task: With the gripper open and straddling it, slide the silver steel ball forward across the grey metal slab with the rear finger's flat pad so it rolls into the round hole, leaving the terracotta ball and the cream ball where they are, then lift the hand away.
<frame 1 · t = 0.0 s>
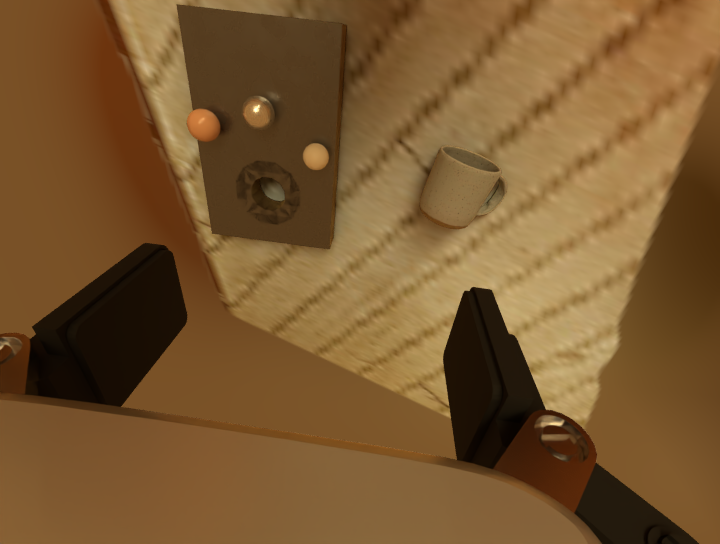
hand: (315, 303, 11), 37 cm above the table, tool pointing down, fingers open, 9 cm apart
cream ball: (315, 156, 40), point 5 cm above the table, touching grey metal slab
grey metal slab: (274, 140, 45), on the table
steel ball: (258, 113, 38), point 5 cm above the table, touching grey metal slab
terracotta ball: (204, 125, 39), point 5 cm above the table, touching grey metal slab
ceramic mug: (462, 179, 45), on the table
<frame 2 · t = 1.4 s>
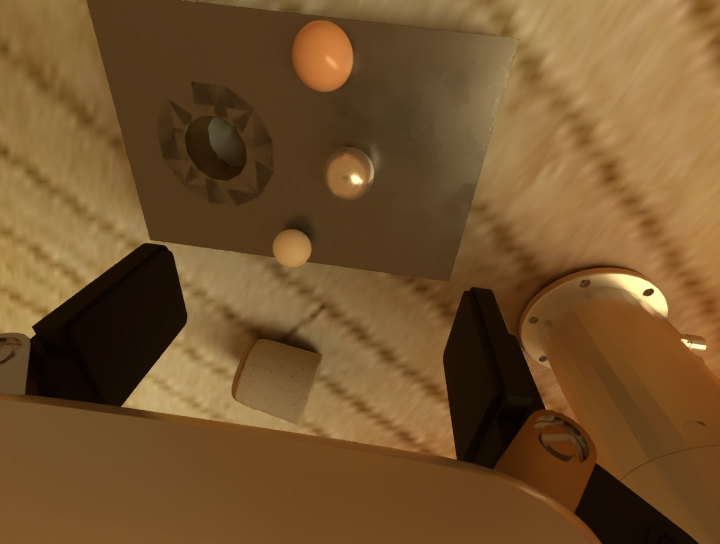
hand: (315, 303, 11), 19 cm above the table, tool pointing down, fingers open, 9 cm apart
cream ball: (292, 248, 27), point 5 cm above the table, touching grey metal slab
grey metal slab: (308, 148, 28), on the table
steel ball: (348, 174, 23), point 5 cm above the table, touching grey metal slab
terracotta ball: (322, 57, 20), point 5 cm above the table, touching grey metal slab
ceramic mug: (288, 360, 42), on the table
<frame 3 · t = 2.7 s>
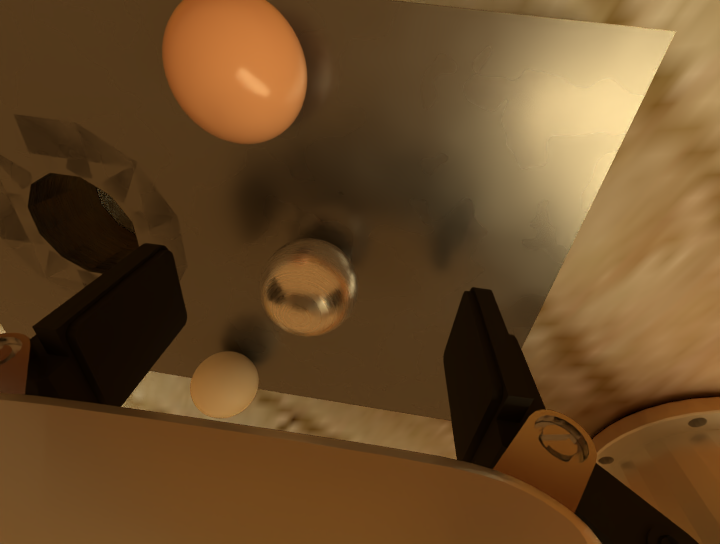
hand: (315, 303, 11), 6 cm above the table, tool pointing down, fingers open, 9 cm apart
cream ball: (225, 383, 16), point 5 cm above the table, touching grey metal slab
grey metal slab: (256, 215, 17), on the table
steel ball: (309, 287, 12), point 5 cm above the table, touching grey metal slab
terracotta ball: (239, 72, 9), point 5 cm above the table, touching grey metal slab
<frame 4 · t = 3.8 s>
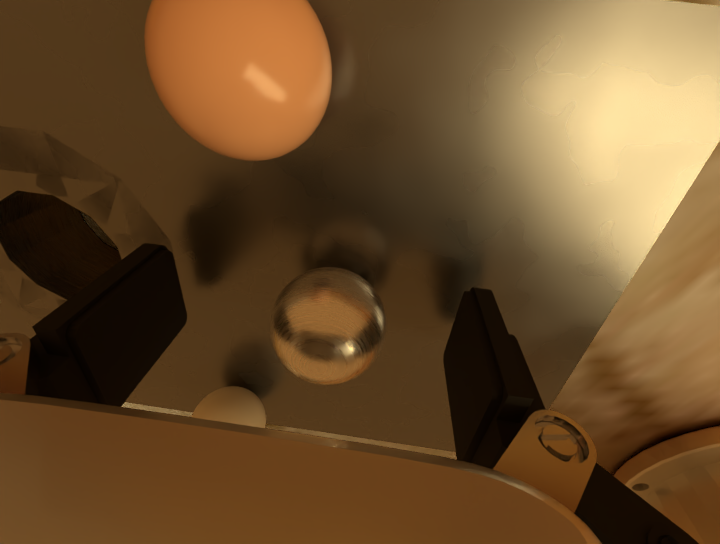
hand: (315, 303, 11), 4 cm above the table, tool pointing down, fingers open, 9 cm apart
cream ball: (228, 423, 14), point 5 cm above the table, touching grey metal slab
grey metal slab: (259, 232, 15), on the table
steel ball: (329, 324, 10), point 5 cm above the table, touching grey metal slab
terracotta ball: (245, 70, 7), point 5 cm above the table, touching grey metal slab
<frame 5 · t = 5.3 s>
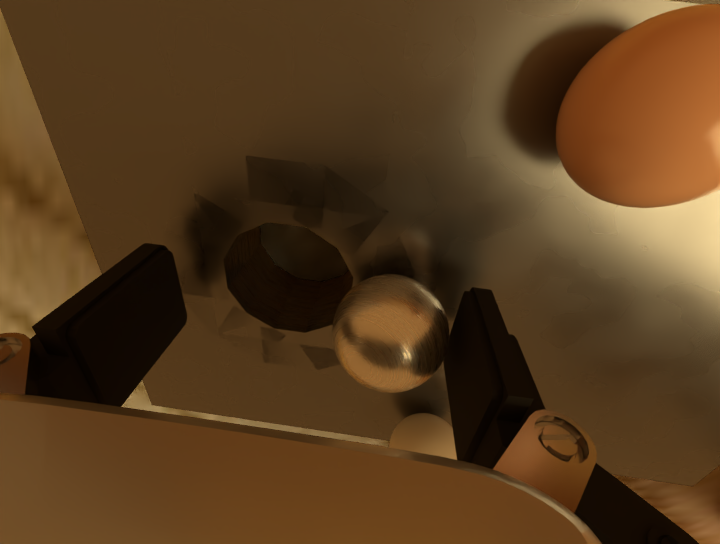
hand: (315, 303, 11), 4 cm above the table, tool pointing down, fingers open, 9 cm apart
cream ball: (425, 452, 14), point 5 cm above the table, touching grey metal slab
grey metal slab: (448, 255, 15), on the table
steel ball: (389, 331, 10), point 5 cm above the table, tilted 153°, touching grey metal slab
terracotta ball: (658, 117, 7), point 5 cm above the table, touching grey metal slab
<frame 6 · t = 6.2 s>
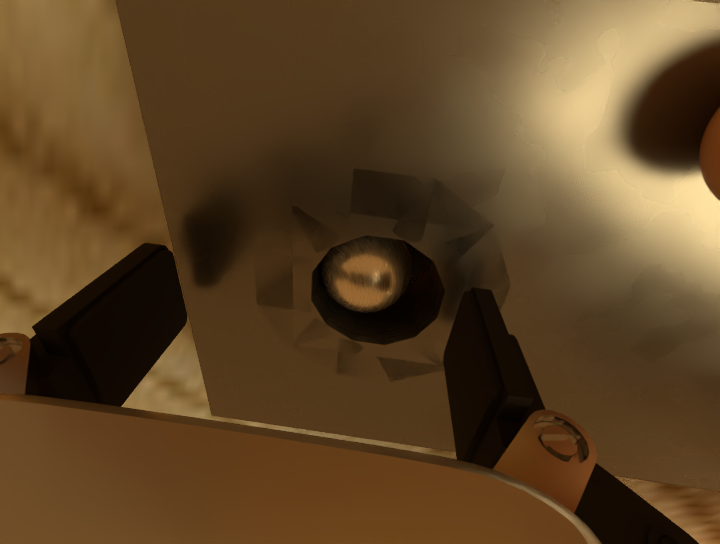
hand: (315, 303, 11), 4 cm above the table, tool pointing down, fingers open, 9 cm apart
grey metal slab: (521, 265, 15), on the table
steel ball: (366, 267, 13), point 2 cm above the table, tilted 54°
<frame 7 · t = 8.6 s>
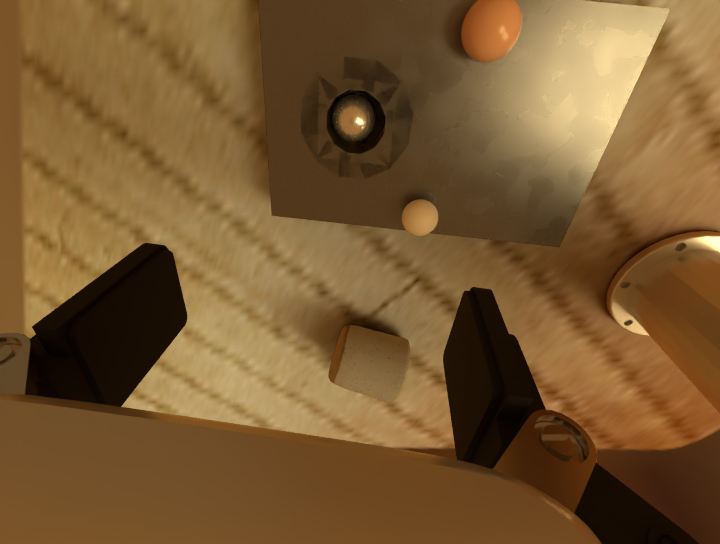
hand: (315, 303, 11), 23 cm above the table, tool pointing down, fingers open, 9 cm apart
cream ball: (419, 217, 28), point 5 cm above the table, touching grey metal slab
grey metal slab: (429, 123, 29), on the table
steel ball: (353, 118, 28), point 2 cm above the table, tilted 49°
terracotta ball: (490, 29, 21), point 5 cm above the table, touching grey metal slab
ceramic mug: (369, 345, 44), on the table
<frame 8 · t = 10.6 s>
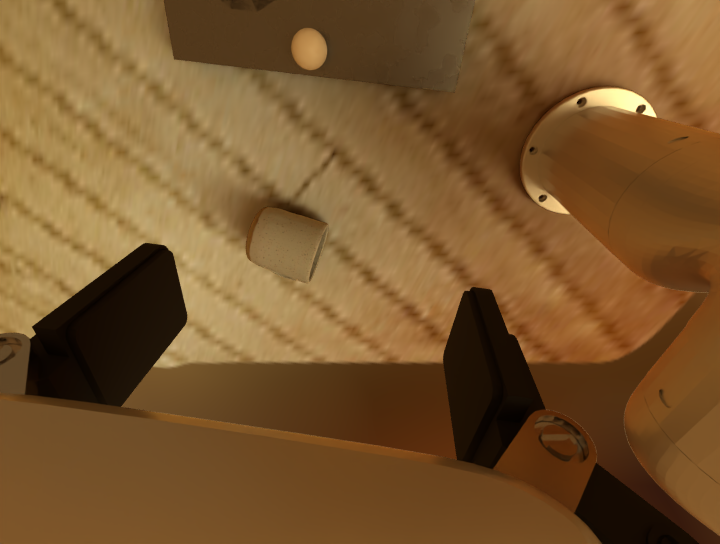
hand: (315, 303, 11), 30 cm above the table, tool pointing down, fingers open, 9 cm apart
cream ball: (309, 49, 29), point 5 cm above the table, touching grey metal slab
ceramic mug: (296, 239, 45), on the table
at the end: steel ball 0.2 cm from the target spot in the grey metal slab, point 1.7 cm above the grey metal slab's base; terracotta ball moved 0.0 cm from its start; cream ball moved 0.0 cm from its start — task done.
